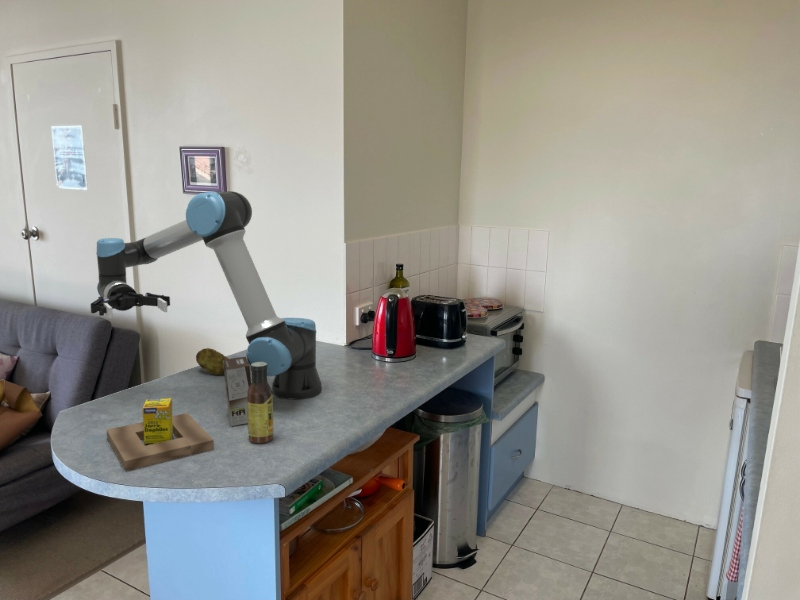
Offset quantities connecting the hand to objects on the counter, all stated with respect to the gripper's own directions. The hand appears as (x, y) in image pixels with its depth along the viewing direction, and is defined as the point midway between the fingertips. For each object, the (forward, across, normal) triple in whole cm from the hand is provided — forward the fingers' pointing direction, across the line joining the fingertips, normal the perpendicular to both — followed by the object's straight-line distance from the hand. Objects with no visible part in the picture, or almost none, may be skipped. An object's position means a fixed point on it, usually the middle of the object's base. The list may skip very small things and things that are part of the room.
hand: (139, 310), depth 157 cm
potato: (-26, -28, -30) cm, 49 cm away
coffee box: (+15, -21, -30) cm, 40 cm away
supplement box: (+19, +2, -30) cm, 36 cm away
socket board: (+19, +1, -30) cm, 36 cm away
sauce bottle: (+30, -20, -30) cm, 47 cm away
